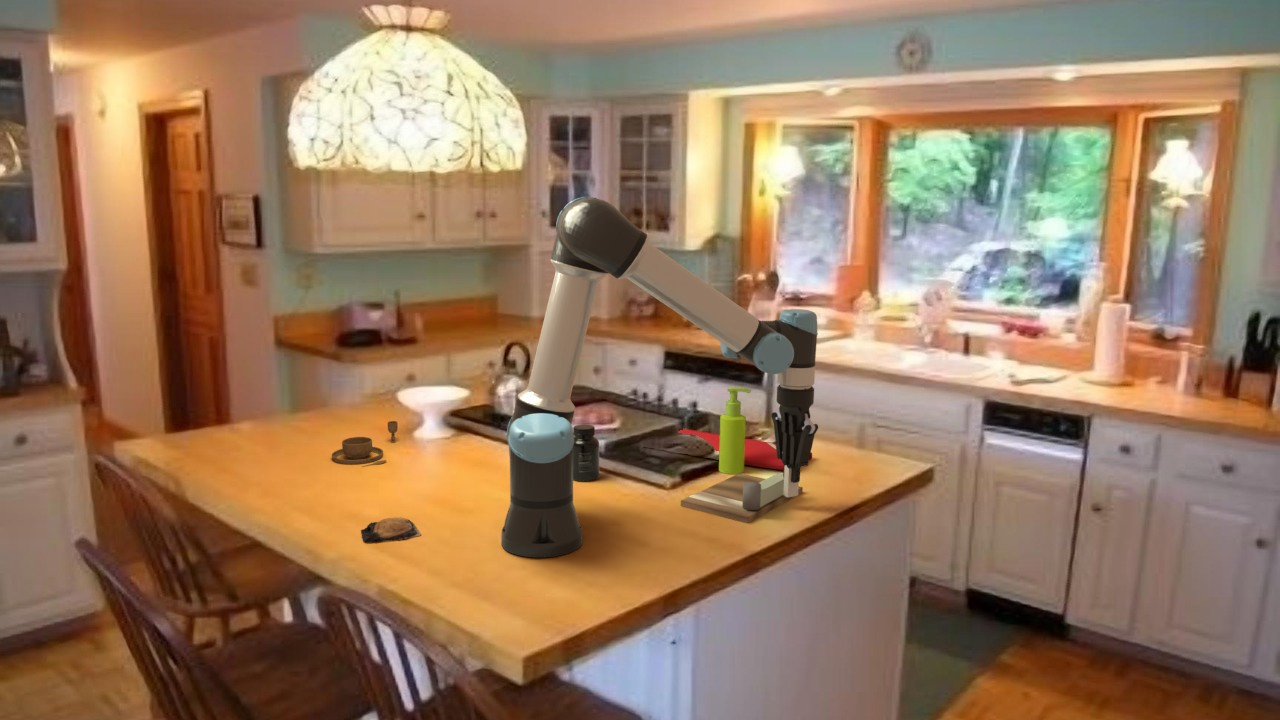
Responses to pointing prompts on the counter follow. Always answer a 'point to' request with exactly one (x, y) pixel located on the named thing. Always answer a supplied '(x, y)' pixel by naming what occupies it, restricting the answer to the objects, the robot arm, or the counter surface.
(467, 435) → the counter surface
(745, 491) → the sharpening stone
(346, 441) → the place setting
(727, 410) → the soap dispenser
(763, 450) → the dish drying mat
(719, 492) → the walnut board
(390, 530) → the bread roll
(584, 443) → the supplement bottle
